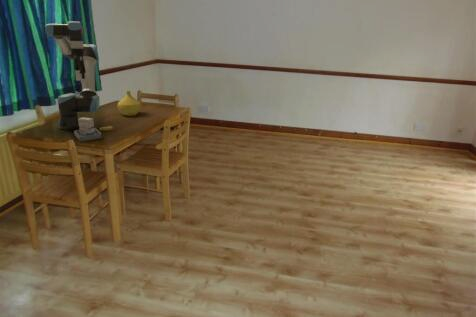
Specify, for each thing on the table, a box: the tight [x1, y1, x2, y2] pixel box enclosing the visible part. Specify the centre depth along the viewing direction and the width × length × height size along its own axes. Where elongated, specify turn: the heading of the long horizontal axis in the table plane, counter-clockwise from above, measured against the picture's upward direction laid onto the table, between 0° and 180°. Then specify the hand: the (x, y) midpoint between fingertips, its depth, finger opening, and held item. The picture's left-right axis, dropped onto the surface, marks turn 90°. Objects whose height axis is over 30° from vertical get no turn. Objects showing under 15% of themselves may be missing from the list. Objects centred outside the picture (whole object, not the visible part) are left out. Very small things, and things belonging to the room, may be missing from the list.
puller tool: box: [98, 125, 114, 132], centre depth 260 cm, size 8×4×2 cm, turn 125°
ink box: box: [78, 116, 95, 136], centre depth 242 cm, size 9×5×12 cm, turn 72°
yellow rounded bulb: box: [117, 90, 142, 117], centre depth 299 cm, size 18×18×19 cm
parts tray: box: [73, 127, 103, 143], centre depth 243 cm, size 16×14×3 cm
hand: (81, 82), depth 237 cm, fingers open, 13 cm apart
